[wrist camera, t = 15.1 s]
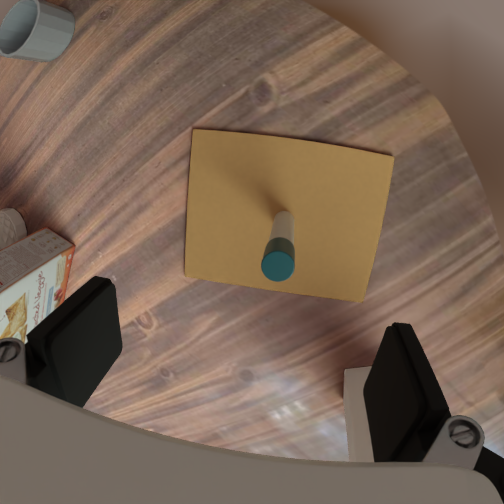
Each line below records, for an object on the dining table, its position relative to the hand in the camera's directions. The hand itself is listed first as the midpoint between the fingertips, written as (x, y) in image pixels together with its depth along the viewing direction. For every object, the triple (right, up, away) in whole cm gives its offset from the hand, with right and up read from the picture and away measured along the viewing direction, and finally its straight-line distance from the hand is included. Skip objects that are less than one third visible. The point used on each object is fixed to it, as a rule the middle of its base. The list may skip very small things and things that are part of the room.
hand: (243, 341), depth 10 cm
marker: (+3, +6, +22) cm, 23 cm away
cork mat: (+3, +6, +22) cm, 23 cm away
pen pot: (-25, +30, +17) cm, 43 cm away
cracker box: (-27, -1, +29) cm, 40 cm away
